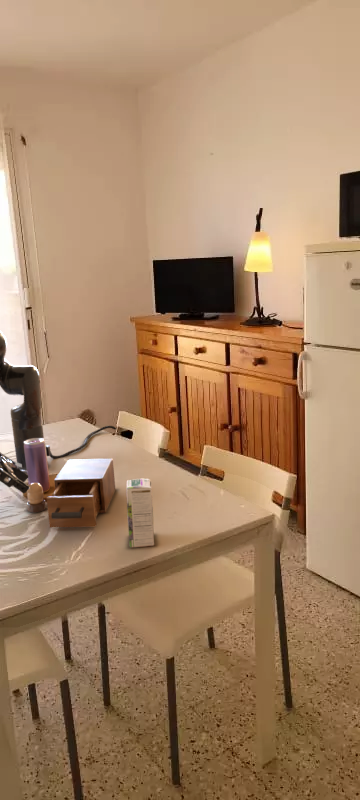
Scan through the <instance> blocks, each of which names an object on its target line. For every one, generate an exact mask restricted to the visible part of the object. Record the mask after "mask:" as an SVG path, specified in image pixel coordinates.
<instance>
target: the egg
mask: <svg viewBox="0 0 360 800" xmlns="http://www.w3.org/2000/svg"><path fill="white" fill-rule="evenodd" d="M28 486H29V489H28V490H27V492H26V497H27V502H26V507H27V511H28V512H29V513H40V512H43V511H45V510H46V509H47V502H46V499H44V497H45V496H44V493H43V488H42V486H41V485H40V484H39V483H36V482H34V483H31V484H30V485H28Z"/></svg>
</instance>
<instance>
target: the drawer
mask: <svg viewBox="0 0 360 800" xmlns="http://www.w3.org/2000/svg"><path fill="white" fill-rule="evenodd" d="M45 500H46V509H47V515H48V516H47V517H48V522H49V523H48V525H49V528H87V527H88V528H89V527H91V528H94V527H96V526H97V516H98V515H99V513H98V512H99V510H100V508H101V506H102V503H101V492H100V481H96V482H60V484H59V485H58V487H57V488H56V490H55V489H54V491H53V493H52V494H51V495H48V496H47V497H46V499H45Z"/></svg>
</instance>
